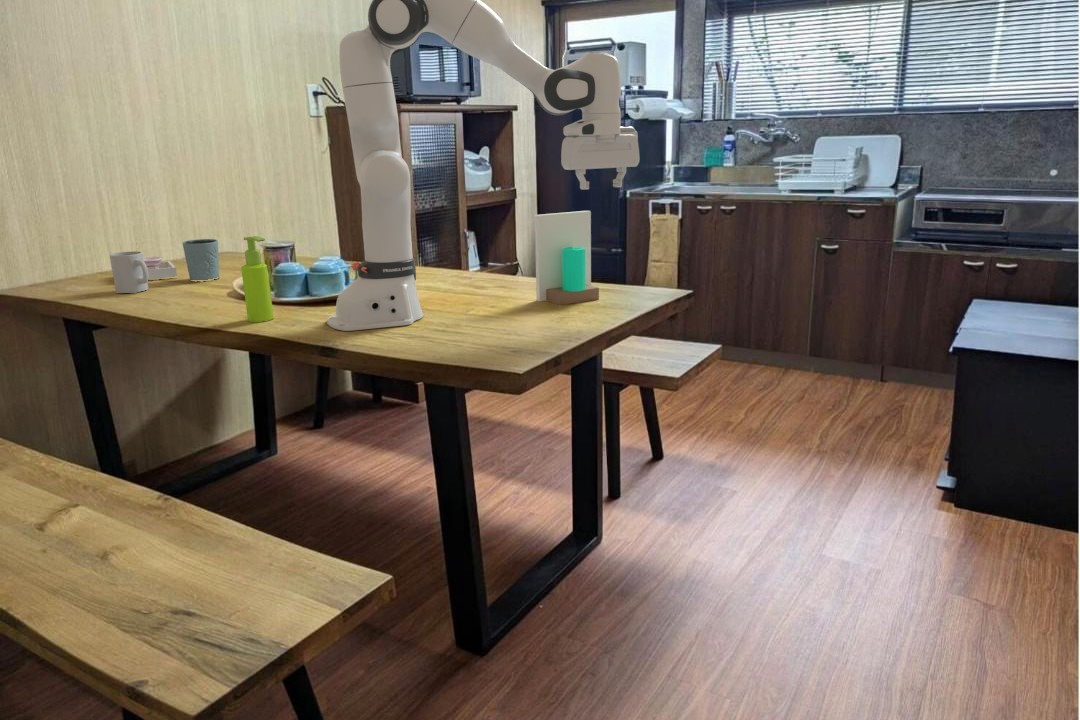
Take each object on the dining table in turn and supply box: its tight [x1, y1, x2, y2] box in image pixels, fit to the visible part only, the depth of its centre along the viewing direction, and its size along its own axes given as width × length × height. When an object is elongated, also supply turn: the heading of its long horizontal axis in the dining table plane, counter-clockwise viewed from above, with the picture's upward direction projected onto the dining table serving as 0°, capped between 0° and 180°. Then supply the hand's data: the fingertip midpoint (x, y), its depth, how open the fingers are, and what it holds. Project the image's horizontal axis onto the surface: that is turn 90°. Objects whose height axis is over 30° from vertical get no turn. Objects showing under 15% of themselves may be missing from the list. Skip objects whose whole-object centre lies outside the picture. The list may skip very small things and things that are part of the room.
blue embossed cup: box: [182, 238, 221, 281], centre depth 241 cm, size 10×10×12 cm
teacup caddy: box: [148, 260, 178, 279], centre depth 248 cm, size 16×16×4 cm
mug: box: [109, 251, 149, 294], centre depth 225 cm, size 12×8×11 cm
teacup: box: [143, 256, 163, 270], centre depth 248 cm, size 12×12×6 cm
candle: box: [562, 243, 585, 291], centre depth 200 cm, size 6×6×12 cm
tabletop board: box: [534, 210, 600, 306], centre depth 201 cm, size 16×8×22 cm, turn 121°
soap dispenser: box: [240, 235, 274, 323], centre depth 186 cm, size 6×7×20 cm
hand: (601, 188), depth 185 cm, fingers open, 8 cm apart
